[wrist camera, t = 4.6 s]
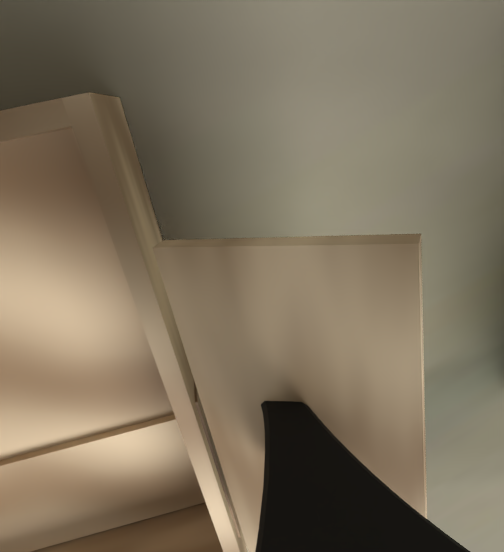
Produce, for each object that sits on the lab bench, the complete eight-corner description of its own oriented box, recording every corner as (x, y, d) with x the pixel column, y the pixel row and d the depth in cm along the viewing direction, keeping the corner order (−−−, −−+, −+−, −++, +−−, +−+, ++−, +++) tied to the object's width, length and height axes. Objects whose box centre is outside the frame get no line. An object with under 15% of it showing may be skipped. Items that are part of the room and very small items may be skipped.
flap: (253, 538, 12) (429, 602, 10) (248, 551, 12) (427, 620, 10) (164, 239, 8) (420, 234, 6) (152, 247, 8) (418, 243, 6)
